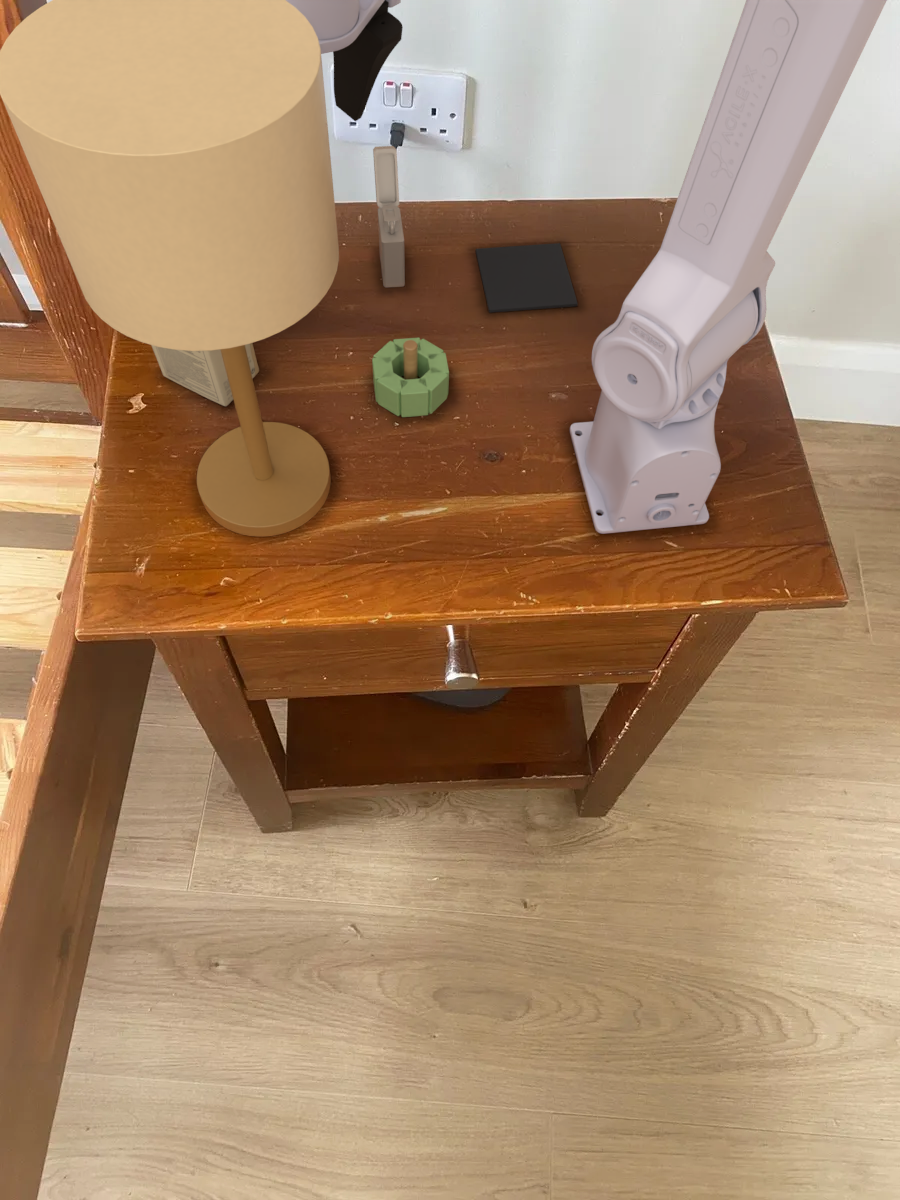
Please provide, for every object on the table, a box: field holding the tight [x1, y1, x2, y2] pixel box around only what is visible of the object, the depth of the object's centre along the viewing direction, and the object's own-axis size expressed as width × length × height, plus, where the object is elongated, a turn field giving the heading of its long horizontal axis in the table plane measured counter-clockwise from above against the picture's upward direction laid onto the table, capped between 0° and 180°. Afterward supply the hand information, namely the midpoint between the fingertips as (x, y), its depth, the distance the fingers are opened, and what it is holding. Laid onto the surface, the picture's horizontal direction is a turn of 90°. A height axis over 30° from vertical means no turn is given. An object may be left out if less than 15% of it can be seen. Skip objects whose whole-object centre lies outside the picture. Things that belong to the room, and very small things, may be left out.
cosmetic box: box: [150, 342, 260, 407], centre depth 61 cm, size 6×4×12 cm
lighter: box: [372, 145, 406, 288], centre depth 70 cm, size 7×2×8 cm, turn 7°
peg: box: [402, 340, 420, 380], centre depth 64 cm, size 2×2×4 cm
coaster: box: [474, 242, 578, 314], centre depth 72 cm, size 7×7×1 cm
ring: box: [371, 337, 450, 418], centre depth 65 cm, size 5×5×2 cm
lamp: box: [0, 0, 340, 538], centre depth 49 cm, size 13×13×29 cm
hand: (310, 134), depth 64 cm, fingers open, 7 cm apart
